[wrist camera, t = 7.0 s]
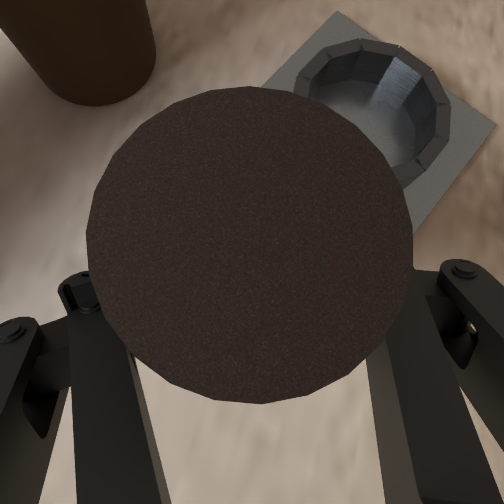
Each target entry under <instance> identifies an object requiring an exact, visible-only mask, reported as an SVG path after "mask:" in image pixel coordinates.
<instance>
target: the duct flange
mask: <svg viewBox="0 0 504 504" xmlns="http://www.w3.org/2000/svg"><path fill="white" fill-rule="evenodd" d="M398 46H399V45H394V44H389V43H384V42H380V41H379V40H377V39H376V38H374V37H373V36H372V35H370V34H369V33H368V32H366V31H365V30H363V29H362V28H361V27H359V26H358V25H356V24H355V23H354V22H352V21H351V20H349V19H348V18H347V17H345V16H344V15H342V14H341V13H340V12H338V11H336V12H335V13H334V14H333V15H332V16H331V17H330V18H329V19H328V20H327V21H326V22H325V23H324V24H323V25H322V26H321V27H320V28H319V29H318V30H317V31H316V32H315V33H314V34H313V35H312V36H311V37H310V38H309V39H308V40H307V41H306V42H305V43H304V44H303V45H302V46H301V47H300V48H299V49H298V50H297V51H296V52H295V53H294V54H293V55H292V56H291V57H290V58H289V60H288V61H287V62H286V63H285V64H284V65H283V66H282V67H281V68H280V69H279V70H278V71H277V72H276V73H275V74H274V75H273V76H272V77H271V78H270V79H269V80H268V81H267V82H266V83H265V84H264V85H263V86H262V87H261V88H268V89H276V90H285V91H289V92H292V93H295V94H298V95H300V96H303V97H306V98H308V99H311V100H314V101H317V102H319V103H322V104H324V105H326V106H328V107H329V108H331V109H332V110H334V111H335V112H337V113H338V114H340V115H341V116H343V117H344V118H346V119H347V120H349V121H350V122H352V123H353V124H355V125H356V126H357V127H358V128H359V129H360V130H361V131H362V132H363V133H364V134H365V135H366V136H367V137H368V138H369V139H370V141H371V142H372V143H373V144H374V145H375V146H376V147H377V148H378V149H379V150H380V151H381V152H382V153H383V155H384V156H385V158H386V160H387V162H388V163H389V165H390V167H391V169H392V171H393V172H394V174H395V176H396V178H397V179H398V181H399V183H400V185H401V187H402V188H403V192H404V196H405V200H406V203H407V207H408V211H409V214H410V218H411V222H412V226H413V234H414V233H415V232H416V230H417V229H418V228H419V226H420V225H421V224H422V222H423V221H424V220H425V218H426V217H427V216H428V214H429V213H430V212H431V211H432V209H433V208H434V207H435V205H436V204H437V203H438V201H439V200H440V199H441V197H442V196H443V195H444V193H445V192H446V191H447V189H448V188H449V187H450V185H451V184H452V183H453V181H454V180H455V179H456V177H457V176H458V175H459V173H460V172H461V171H462V169H463V168H464V167H465V165H466V164H467V163H468V161H469V160H470V159H471V157H472V156H473V155H474V154H475V152H476V151H477V150H478V148H479V147H480V146H481V144H482V143H483V142H484V140H485V139H486V138H487V136H488V135H489V134H490V132H491V131H492V130H493V128H494V127H495V126H496V124H494V123H493V122H492V121H490V120H489V119H487V118H486V117H485V116H483V115H482V114H480V113H479V112H478V111H476V110H475V109H473V108H472V107H471V106H469V105H468V104H466V103H465V102H464V101H462V100H461V99H459V98H458V97H457V96H455V95H454V94H453V93H451V92H450V91H448V90H447V89H446V88H444V87H443V86H442V85H441V84H440V82H439V80H438V78H437V76H436V74H435V72H434V70H432V71H431V69H432V68H430V67H429V66H428V65H426V64H425V63H423V62H422V61H421V60H419V59H418V58H416V57H415V56H414V55H412V54H411V53H409V52H408V51H407V50H405V49H404V48H402V47H401V46H400V47H399V48H398Z"/></svg>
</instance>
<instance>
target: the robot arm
mask: <svg viewBox="0 0 504 504" xmlns="http://www.w3.org/2000/svg"><path fill="white" fill-rule="evenodd" d="M58 294H59V296H60V298H61V300H62V302H63V305H64V307H65V309H66V311H67V316H65V317H63V318H60V319H58V320H55V321H52V322H49V323H46V324H43V325H40V326H39V324H38V323H37V321H36V320H35V319H34V318H31V317H18V318H14V319H10V320H8V321H6V322H3V323H2V324H0V504H38V503H39V500H40V496H41V492H42V488H43V484H44V481H45V477H46V473H47V469H48V466H49V462H50V458H51V454H52V450H53V447H54V443H55V439H56V435H57V431H58V428H59V424H60V420H61V416H62V412H63V409H64V405H65V401H66V397H67V394H68V390H69V387H70V386H71V395H72V414H73V434H74V454H75V473H76V493H77V504H171V500H170V496H169V492H168V488H167V484H166V480H165V476H164V472H163V468H162V464H161V460H160V456H159V452H158V448H157V444H156V440H155V436H154V432H153V428H152V424H151V421H150V417H149V413H148V409H147V405H146V401H145V397H144V393H143V389H142V385H141V381H140V377H139V373H138V369H137V365H136V361H135V357H134V356H133V355H132V354H131V352H130V351H129V350H128V348H127V347H126V346H125V344H124V343H123V342H122V340H121V339H120V338H119V336H118V335H117V334H116V332H115V331H114V330H113V328H112V327H111V326H110V324H109V323H108V322H107V320H106V319H105V317H104V314H103V312H102V309H101V306H100V304H99V301H98V298H97V296H96V293H95V290H94V288H93V285H92V282H91V280H90V277H89V271H83V272H79V273H77V274H74V275H72V276H70V277H69V278H67V279H65V280H64V281H63V282H62V283H61V284H60V285H59V288H58ZM471 323H472V324H473V326H474V327H475V329H476V331H474V329H473V328H472V327H471V326H470V325H471ZM366 365H367V372H368V379H369V386H370V394H371V401H372V408H373V416H374V423H375V430H376V437H377V445H378V452H379V459H380V467H381V474H382V481H383V489H384V496H385V503H386V504H504V502H503V500H502V497H501V495H500V492H499V490H498V487H497V484H496V482H495V479H494V476H493V474H492V471H491V469H490V466H489V463H488V461H487V458H486V455H485V453H484V450H483V448H482V445H481V442H480V440H479V437H478V434H477V432H476V429H475V426H474V424H473V421H472V419H471V416H470V413H469V411H468V408H467V405H466V403H465V400H464V398H463V395H462V392H461V390H460V387H461V389H462V390H463V392H464V393H465V395H466V396H467V398H468V399H469V401H470V402H471V404H472V405H473V407H474V408H475V410H476V411H477V413H478V414H479V416H480V417H481V419H482V420H483V422H484V423H485V425H486V426H487V428H488V429H489V431H490V432H491V434H492V435H493V437H494V438H495V440H496V441H497V443H498V444H499V446H500V447H501V449H502V450H503V452H504V286H503V285H502V284H501V283H500V282H498V281H497V280H496V279H495V278H494V277H493V276H492V275H491V274H490V273H489V272H487V271H486V270H485V269H484V268H483V267H481V266H480V265H478V264H475V263H473V262H471V261H468V260H462V259H451V260H446V261H444V262H443V263H442V264H441V267H440V270H439V272H437V271H423V270H415V269H414V267H413V268H412V272H411V276H410V280H409V284H408V287H407V291H406V295H405V299H404V303H403V306H402V309H401V310H400V312H399V314H398V315H397V317H396V319H395V320H394V322H393V324H392V325H391V327H390V329H389V330H388V332H387V334H386V336H385V337H384V339H383V341H382V342H381V344H380V345H379V346H378V347H377V348H376V349H375V350H374V351H373V352H372V353H370V354H369V355H368V356H367V357H366ZM459 386H460V387H459Z"/></svg>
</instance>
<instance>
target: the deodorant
mask: <svg viewBox="0 0 504 504" xmlns="http://www.w3.org/2000/svg"><path fill="white" fill-rule="evenodd" d="M86 242H87V256H88V269H89V277H90V280H91V282H92V285H93V288H94V290H95V293H96V296H97V298H98V301H99V304H100V306H101V309H102V312H103V314H104V317H105V319H106V320H107V322H108V323H109V324H110V326H111V327H112V328H113V330H114V331H115V332H116V334H117V335H118V336H119V338H120V339H121V340H122V342H123V343H124V344H125V346H126V347H127V348H128V350H129V351H130V352H131V354H132V355H133V356H135V357H136V358H137V359H139V360H140V361H141V362H143V363H144V364H145V365H146V366H148V367H149V368H150V369H152V370H153V371H154V372H156V373H157V374H158V375H160V376H161V377H162V378H164V379H165V380H166V381H168V382H169V383H171V384H173V385H176V386H179V387H181V388H184V389H186V390H189V391H192V392H194V393H197V394H200V395H202V396H205V397H208V398H210V399H213V400H220V401H231V402H242V403H253V404H266V403H271V402H276V401H281V400H286V399H291V398H296V397H301V396H307V395H309V394H311V393H313V392H315V391H317V390H319V389H321V388H323V387H325V386H327V385H329V384H331V383H333V382H335V381H336V380H338V379H340V378H342V377H344V376H346V375H348V374H349V373H350V372H351V371H352V370H354V369H355V368H356V367H357V366H358V365H359V364H360V363H361V362H362V361H363V360H364V359H365V358H366V357H367V356H368V355H369V354H370V353H372V352H373V351H374V350H375V349H376V348H377V347H378V346H379V345H380V344H381V342H382V341H383V339H384V337H385V336H386V334H387V332H388V330H389V329H390V327H391V325H392V324H393V322H394V320H395V319H396V317H397V315H398V314H399V312H400V310H401V309H402V306H403V303H404V299H405V295H406V291H407V287H408V284H409V280H410V276H411V272H412V268H413V226H412V222H411V218H410V214H409V211H408V207H407V203H406V200H405V196H404V192H403V188H402V187H401V185H400V183H399V181H398V179H397V178H396V176H395V174H394V172H393V171H392V169H391V167H390V165H389V163H388V162H387V160H386V158H385V156H384V155H383V153H382V152H381V151H380V150H379V149H378V148H377V147H376V146H375V145H374V144H373V143H372V142H371V141H370V139H369V138H368V137H367V136H366V135H365V134H364V133H363V132H362V131H361V130H360V129H359V128H358V127H357V126H356V125H355V124H353V123H352V122H350V121H349V120H347V119H346V118H344V117H343V116H341V115H340V114H338V113H337V112H335V111H334V110H332V109H331V108H329V107H328V106H326V105H324V104H322V103H319V102H317V101H314V100H311V99H308V98H306V97H303V96H300V95H298V94H295V93H292V92H289V91H285V90H276V89H268V88H260V87H252V86H246V87H237V88H227V89H218V90H210V91H207V92H204V93H201V94H198V95H196V96H193V97H190V98H187V99H184V100H181V101H179V102H176V103H173V104H172V105H170V106H169V107H167V108H166V109H164V110H163V111H161V112H160V113H158V114H156V115H155V116H153V117H152V118H150V119H149V120H147V121H146V122H144V123H143V124H141V125H140V126H139V127H138V128H137V129H136V130H135V132H134V133H133V134H132V135H131V136H130V137H129V138H128V139H127V140H126V142H125V143H124V144H123V145H122V146H121V147H120V148H119V149H118V150H117V151H116V153H115V154H114V155H113V157H112V158H111V160H110V162H109V164H108V166H107V168H106V170H105V172H104V174H103V176H102V178H101V180H100V182H99V183H98V185H97V187H96V189H95V191H94V196H93V200H92V205H91V210H90V215H89V220H88V224H87V229H86Z"/></svg>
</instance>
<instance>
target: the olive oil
mask: <svg viewBox="0 0 504 504" xmlns="http://www.w3.org/2000/svg"><path fill="white" fill-rule="evenodd" d="M0 28H1V29H2V31H3V32H4V33H5V34H6V36H7V37H8V38H9V39H10V41H11V42H12V43H13V44H14V45H15V47H16V48H17V49H18V51H19V52H20V53H21V54H22V56H23V57H24V58H25V59H26V61H27V62H28V63H29V64H30V66H31V67H32V68H33V69H34V71H35V72H36V73H37V74H38V76H39V77H40V78H41V79H42V80H43V82H44V83H45V84H46V85H47V86H48V87H49V88H50V89H51V90H52V91H53V92H54V93H56V94H57V95H58V96H60V97H62V98H64V99H66V100H68V101H70V102H73V103H77V104H81V105H90V106H98V105H106V104H111V103H115V102H118V101H120V100H123V99H125V98H127V97H129V96H130V95H132V94H133V93H135V92H136V91H137V90H139V89H140V88H141V87H142V86H143V85H144V84H145V82H146V81H147V80H148V78H149V77H150V75H151V73H152V71H153V68H154V65H155V60H156V47H155V41H154V37H153V32H152V28H151V24H150V19H149V15H148V11H147V7H146V2H145V0H0Z"/></svg>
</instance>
